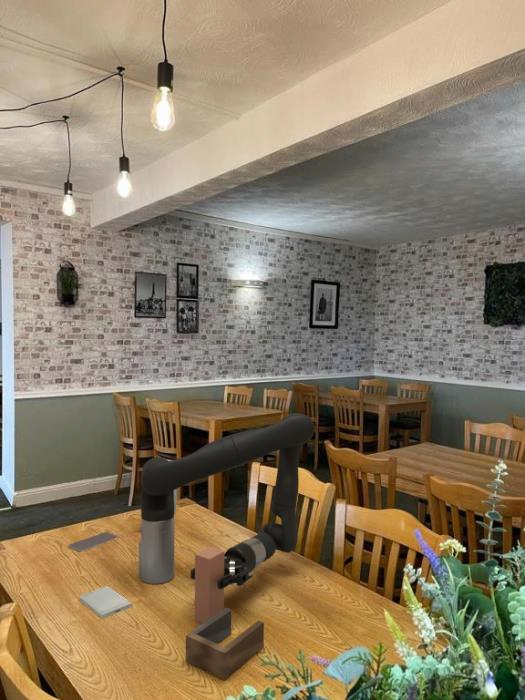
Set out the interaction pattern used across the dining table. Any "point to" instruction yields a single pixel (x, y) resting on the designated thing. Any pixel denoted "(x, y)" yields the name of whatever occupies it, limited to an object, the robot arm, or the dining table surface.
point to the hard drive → (105, 602)
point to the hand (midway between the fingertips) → (204, 580)
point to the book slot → (216, 657)
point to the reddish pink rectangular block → (208, 584)
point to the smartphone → (92, 542)
